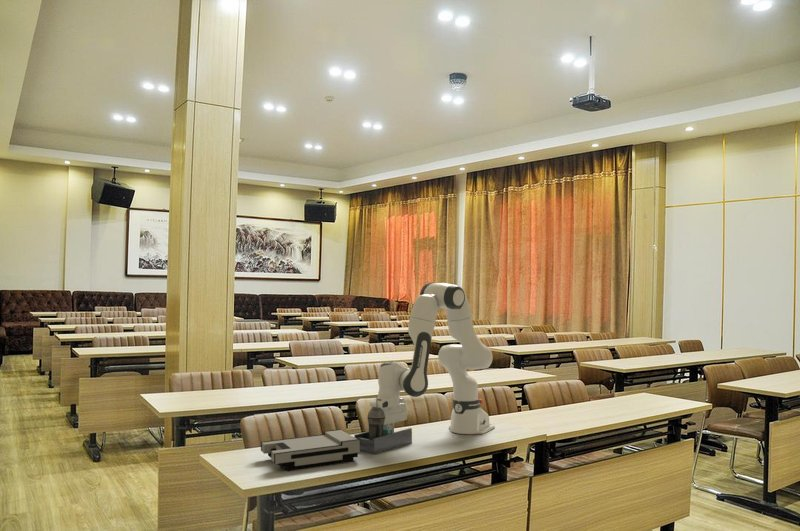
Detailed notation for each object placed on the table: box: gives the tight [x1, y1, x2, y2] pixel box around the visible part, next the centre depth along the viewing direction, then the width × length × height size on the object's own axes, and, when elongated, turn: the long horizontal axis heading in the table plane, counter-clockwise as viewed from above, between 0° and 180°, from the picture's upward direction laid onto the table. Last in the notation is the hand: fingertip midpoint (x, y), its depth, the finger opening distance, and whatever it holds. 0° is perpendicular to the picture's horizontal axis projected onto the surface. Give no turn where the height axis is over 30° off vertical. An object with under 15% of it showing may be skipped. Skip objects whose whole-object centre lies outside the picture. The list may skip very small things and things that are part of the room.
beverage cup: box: [367, 396, 385, 440], centre depth 242 cm, size 7×7×20 cm
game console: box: [260, 428, 361, 472], centre depth 226 cm, size 21×32×8 cm, turn 117°
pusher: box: [382, 429, 391, 436], centre depth 245 cm, size 2×8×6 cm, turn 49°
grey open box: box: [353, 427, 413, 455], centre depth 246 cm, size 23×11×6 cm, turn 139°
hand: (388, 434), depth 249 cm, fingers closed
